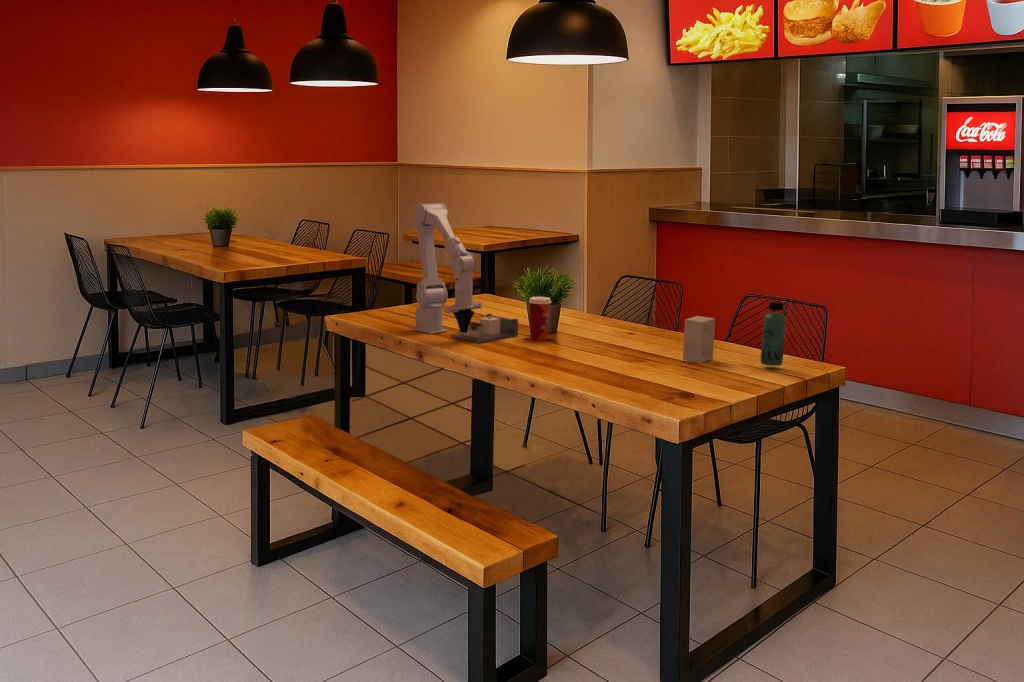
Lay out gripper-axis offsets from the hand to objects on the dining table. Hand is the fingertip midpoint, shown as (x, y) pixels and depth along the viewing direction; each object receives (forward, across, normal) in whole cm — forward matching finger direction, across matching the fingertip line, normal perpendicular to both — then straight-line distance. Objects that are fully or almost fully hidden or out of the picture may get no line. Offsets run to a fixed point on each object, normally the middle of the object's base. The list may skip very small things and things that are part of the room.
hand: (463, 332), depth 306 cm
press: (+3, +10, 0) cm, 10 cm away
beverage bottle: (+3, +41, -90) cm, 99 cm away
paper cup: (+3, +21, -15) cm, 26 cm away
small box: (+3, +34, -69) cm, 77 cm away
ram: (+2, +4, 0) cm, 4 cm away
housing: (+2, +12, 0) cm, 12 cm away
